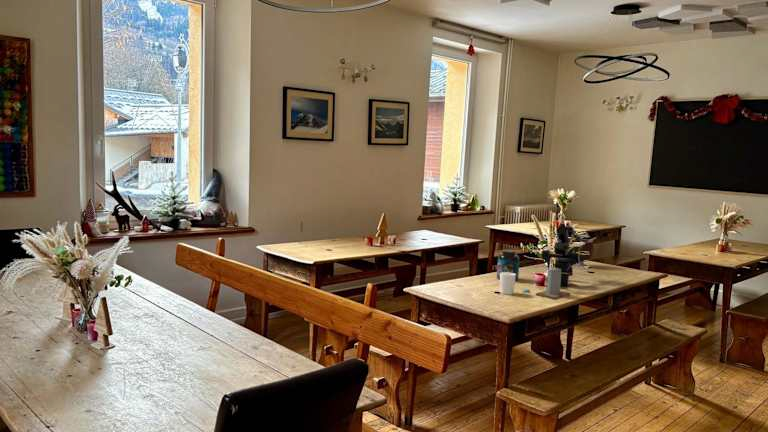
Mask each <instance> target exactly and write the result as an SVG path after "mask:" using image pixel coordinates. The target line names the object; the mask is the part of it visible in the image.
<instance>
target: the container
mask: <svg viewBox="0 0 768 432" xmlns="http://www.w3.org/2000/svg"><path fill="white" fill-rule="evenodd" d="M516 252H517V251H516V250H513V249H502V252H501V253H500V254H498V256H497V265H496V266H497V268H496V278H497V279H498V280H500V273H501V272H510V273H514V274H516V278H515V282H516V281H518V279H519V274H520V269H519V268H520V257H519V256H520V255H518V254H516Z"/></svg>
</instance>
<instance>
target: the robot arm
mask: <svg viewBox="0 0 768 432" xmlns="http://www.w3.org/2000/svg"><path fill="white" fill-rule="evenodd" d="M555 232H556V238H557V242H554V251H553V252H554V253H553V252H552V253H551V251H550V250H548V249H547V250H546V249H543V250H542V251H541V259H542V260H543V261H545V262H546V266H547V269H548V268H551V267H550V266H551V258H553V259H554V258H555V259H557V260H556V262H555V263H554V268H560V269H561V284H560V287H562V288H568V287H570V286H571V284H569V280H570V279H569V278H570V277H573V275H574V272H573V267H572V266H573V265H574V264H578V263H579V260H580V259H579V254H578V253H576V252H578V251H579V250H580V249H581V247H574V248H572V249H571V250H570V251H569V252H568V249H569V242H570V240H572V239H576V240H572V242H581V239H582V238H581V236H579V234H576V235H575V233H576V232H578V231H577V230H575V229H574V227H573V226H566V224H560V225H558V226H557V227H556V229H555ZM568 237H569V238H568ZM572 237H573V238H572ZM570 238H572V239H570Z"/></svg>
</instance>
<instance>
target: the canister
mask: <svg viewBox="0 0 768 432" xmlns="http://www.w3.org/2000/svg"><path fill="white" fill-rule="evenodd" d="M546 276H547V278H546V290H545V291H546V293H548V294H553V295H558V294H560V291H561V286H560V284H561V269H560V268H555V267H549V268H548V267H547V275H546Z"/></svg>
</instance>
